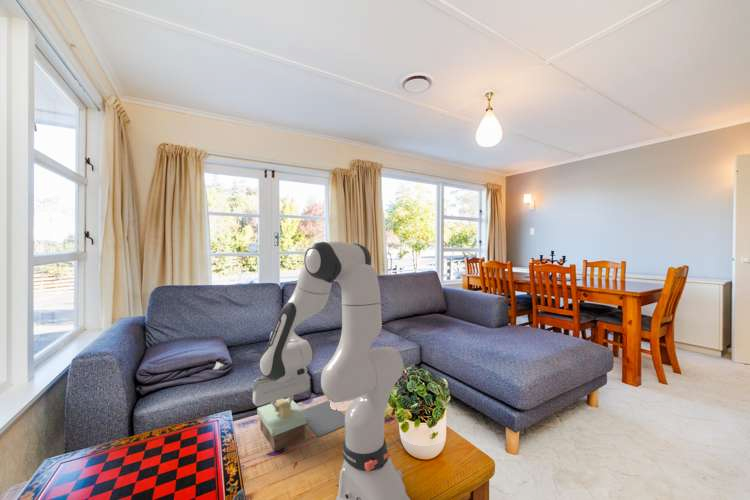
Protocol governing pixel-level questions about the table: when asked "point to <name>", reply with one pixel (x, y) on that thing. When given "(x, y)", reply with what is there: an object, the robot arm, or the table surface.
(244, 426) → the table surface
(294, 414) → the lid
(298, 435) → the box
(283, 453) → the table surface
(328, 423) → the mat
